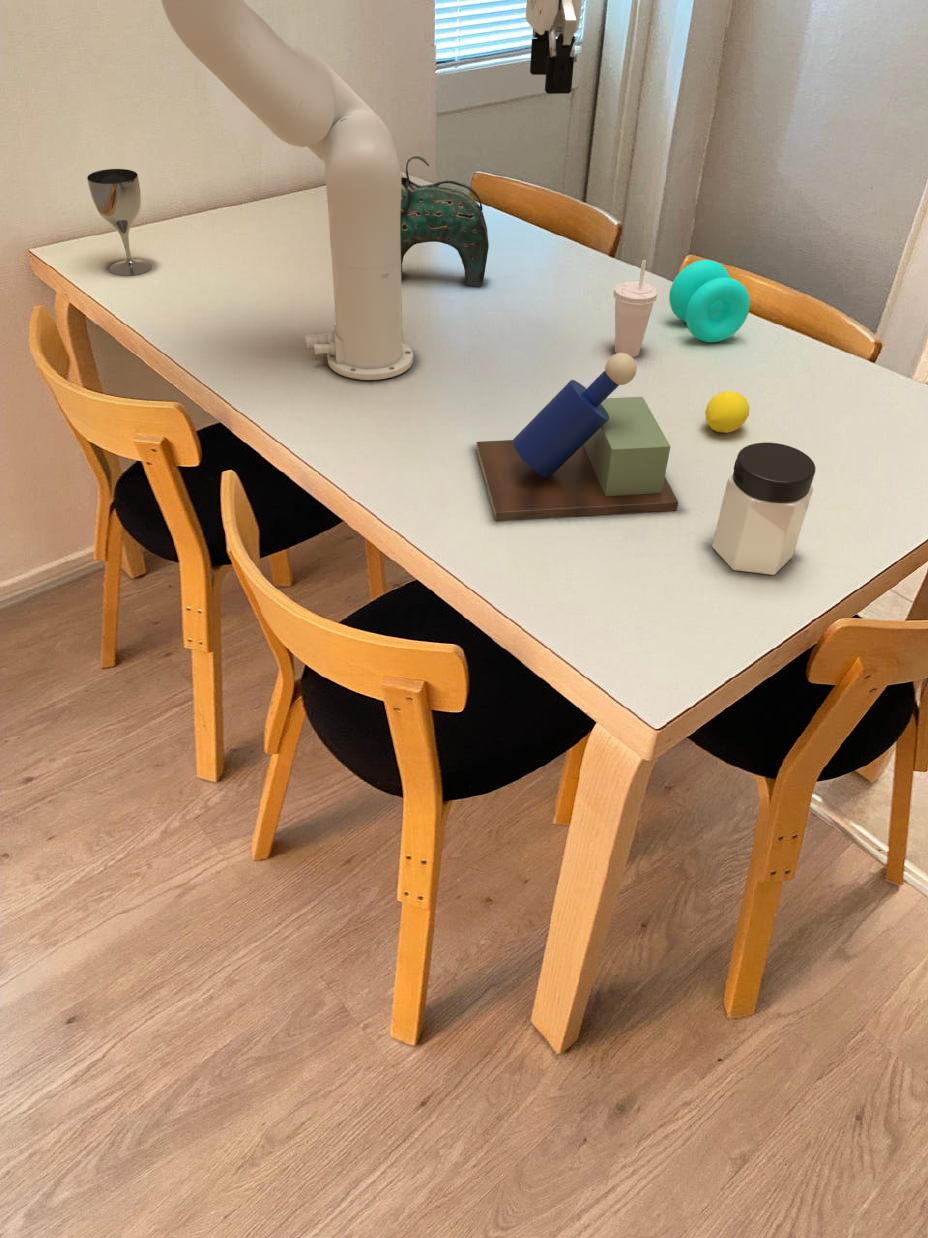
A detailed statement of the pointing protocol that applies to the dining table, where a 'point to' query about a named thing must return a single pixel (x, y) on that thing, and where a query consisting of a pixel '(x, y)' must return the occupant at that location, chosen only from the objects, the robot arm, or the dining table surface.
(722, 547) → the jar
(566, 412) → the bottle
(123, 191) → the wine glass
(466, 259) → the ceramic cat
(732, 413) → the lemon
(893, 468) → the dining table surface
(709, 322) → the donuts
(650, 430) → the block
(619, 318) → the smoothie
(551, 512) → the board
